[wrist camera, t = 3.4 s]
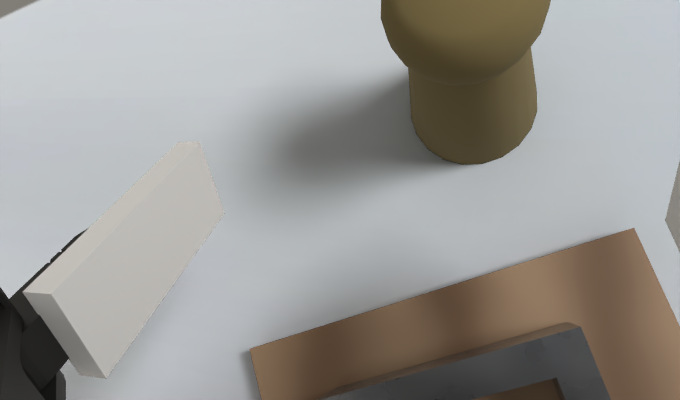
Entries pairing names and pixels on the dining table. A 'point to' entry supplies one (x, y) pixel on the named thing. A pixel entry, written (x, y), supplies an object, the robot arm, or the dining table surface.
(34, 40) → the dining table surface
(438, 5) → the cork
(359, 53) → the dining table surface
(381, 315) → the socket plate
